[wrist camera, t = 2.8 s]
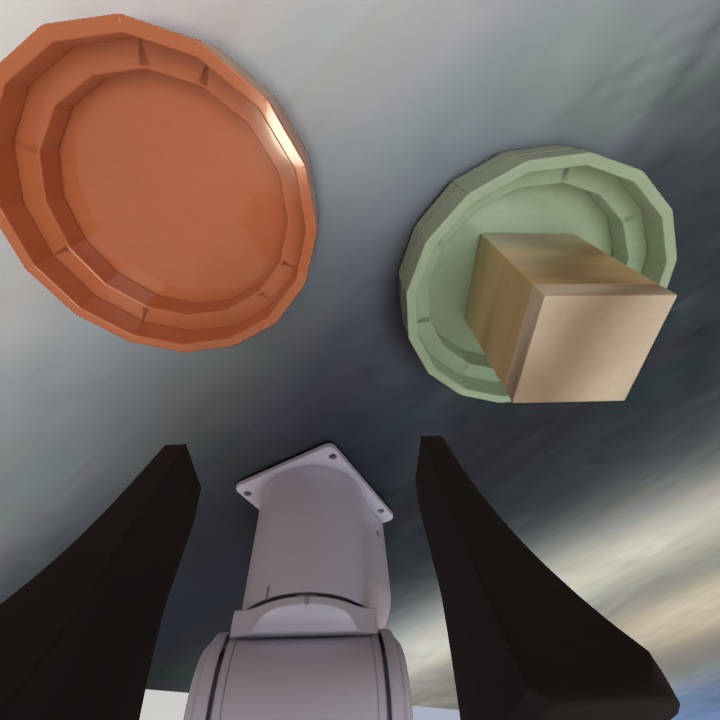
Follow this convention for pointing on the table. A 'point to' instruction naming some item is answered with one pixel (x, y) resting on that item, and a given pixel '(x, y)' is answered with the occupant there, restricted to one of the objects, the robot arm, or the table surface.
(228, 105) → the terracotta bowl
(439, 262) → the celadon bowl
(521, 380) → the box
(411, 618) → the table surface
